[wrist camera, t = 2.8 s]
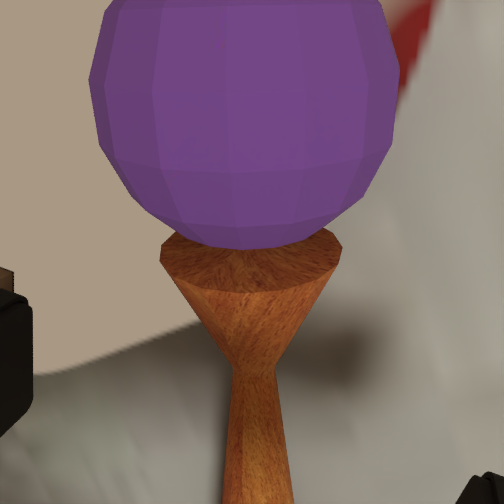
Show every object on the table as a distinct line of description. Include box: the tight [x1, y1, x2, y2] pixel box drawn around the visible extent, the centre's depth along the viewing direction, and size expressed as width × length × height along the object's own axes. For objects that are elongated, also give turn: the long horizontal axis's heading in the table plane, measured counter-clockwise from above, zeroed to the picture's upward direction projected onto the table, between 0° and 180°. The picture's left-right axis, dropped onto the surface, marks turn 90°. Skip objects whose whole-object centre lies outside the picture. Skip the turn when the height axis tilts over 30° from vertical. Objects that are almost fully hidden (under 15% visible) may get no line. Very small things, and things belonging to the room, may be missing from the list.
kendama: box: [89, 0, 400, 504], centre depth 13 cm, size 6×6×20 cm
